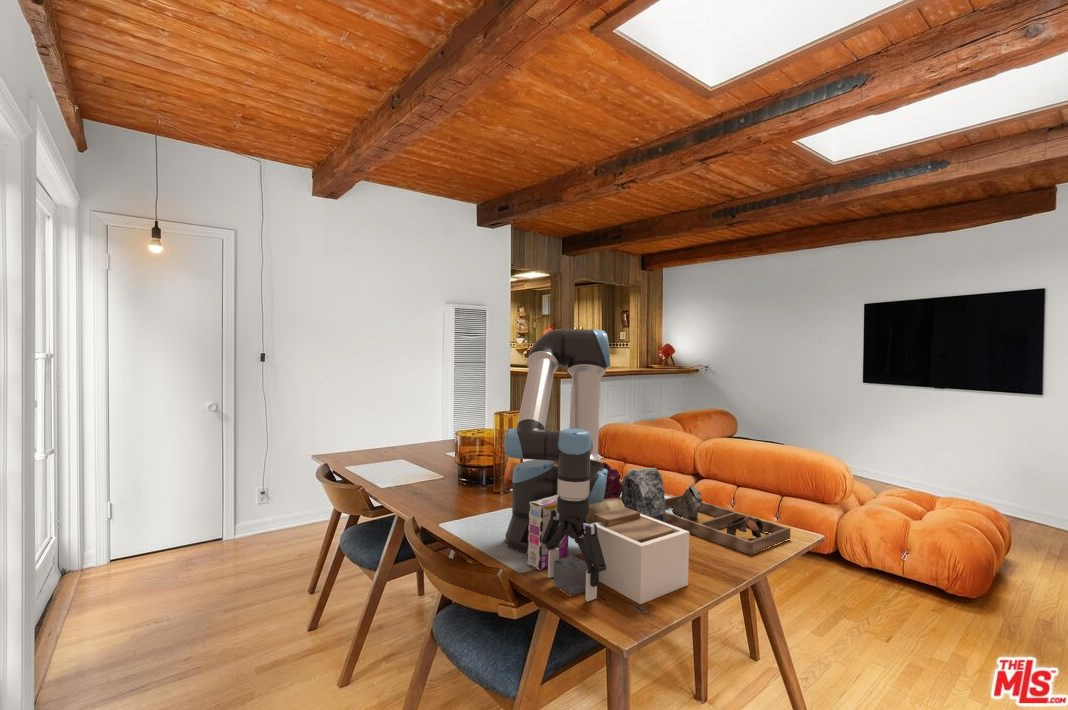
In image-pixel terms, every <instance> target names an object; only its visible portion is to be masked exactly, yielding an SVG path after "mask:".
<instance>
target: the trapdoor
mask: <svg viewBox="0 0 1068 710" xmlns="http://www.w3.org/2000/svg"><path fill="white" fill-rule="evenodd" d="M586 521H587V524H592V523H596V522H600V521H604V522H606V523H607V526H604V527H605V528H608V529H610V530H612V531H615V532H617V533H619V534H621V535H624V536H626V537H628V538H631V539H633V540H635V541H638V542H640V543H643V542H646V541H649V540H653V539H656V538H659V537H663V536H666V535H669V534H672V533H674V529H671V528H669V527H666V526H663V525H661V524H658V523H655V522H653V521H650V520H647V519H645V518H642V517H640V512H637V511H634V510H632V509H629V508H626V507H624V504H623V503H622V501H621V500H619V499H613V500H608V501H604V502H599V503H595V504H590V505H589V514H588V515H587V517H586Z"/></svg>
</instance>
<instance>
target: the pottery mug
mask: <svg viewBox="0 0 1068 710" xmlns="http://www.w3.org/2000/svg"><path fill="white" fill-rule="evenodd" d="M748 516H749V515H748ZM748 516H742V517H739V518H737V519H735V520H733V521H731V522H732V525H730V523H728V524H726V526H725V528H726V533H728V534H731V535H734V536H736V534H737V530H738V531H739V532H742V533H747V532H748V530H747V527H746V525H748V526H749V528H748V529H750V532H751V534H752V537H755V539H757V538H760V537H762V533H763V532H762V530H763V523H762V521H761V520H762V519H761V518H757V517H755V519H752V520H749V518H748ZM760 519H761V520H760ZM756 524H757V525H756Z"/></svg>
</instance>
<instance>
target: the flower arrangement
mask: <svg viewBox="0 0 1068 710" xmlns="http://www.w3.org/2000/svg"><path fill="white" fill-rule="evenodd" d="M602 462H603V461H602ZM556 463H557V464H556V465H554V466H558V461H556ZM604 468H605V469H607V470H608V474H607V481H606V488H605V494H604V500H605V499H610V498H612V499H613V498H618V499H619V497H620V496H622V491H621V490H622V483H620V482H619V481H620V479H621V476H622V475H621V474H620V473H619V470H618V469H615V468H613V469H612V467H611V465H610V464H608V463H607V462H603V469H604Z"/></svg>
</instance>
